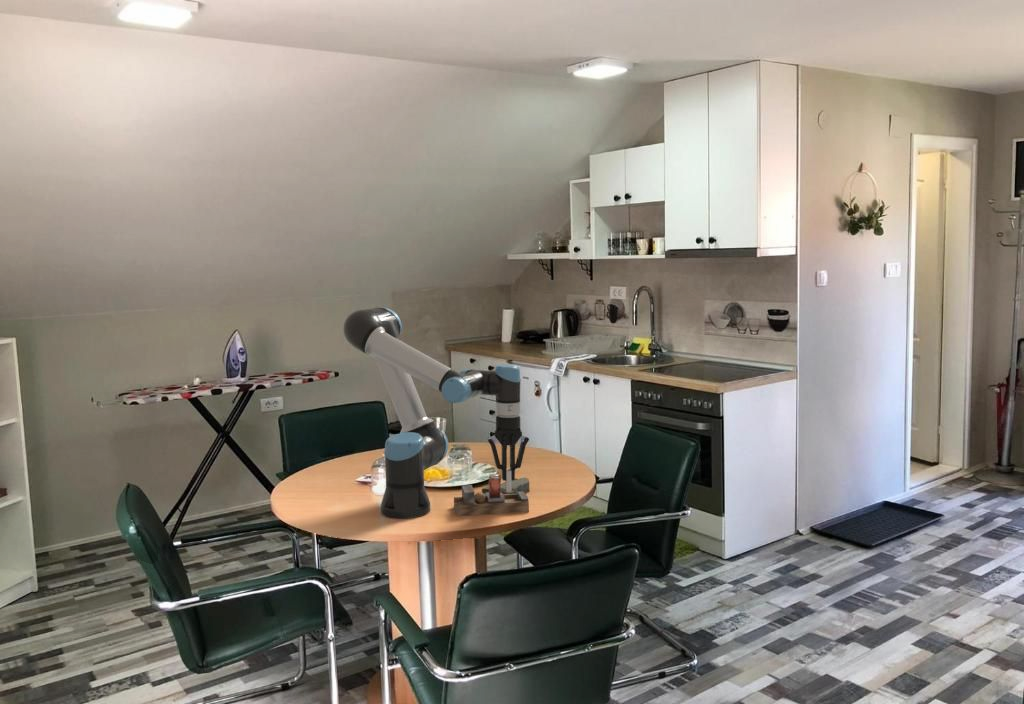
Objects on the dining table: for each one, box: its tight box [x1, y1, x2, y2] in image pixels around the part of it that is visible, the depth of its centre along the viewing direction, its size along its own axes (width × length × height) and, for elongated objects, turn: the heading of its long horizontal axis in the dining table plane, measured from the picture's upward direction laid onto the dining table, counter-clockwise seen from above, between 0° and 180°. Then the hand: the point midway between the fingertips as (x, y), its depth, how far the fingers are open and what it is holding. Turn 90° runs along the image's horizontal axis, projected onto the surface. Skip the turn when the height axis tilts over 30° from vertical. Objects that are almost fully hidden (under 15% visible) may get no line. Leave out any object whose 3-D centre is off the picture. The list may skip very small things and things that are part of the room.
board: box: [453, 484, 530, 517], centre depth 259 cm, size 22×10×7 cm, turn 99°
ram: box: [484, 473, 505, 503], centre depth 259 cm, size 5×7×8 cm
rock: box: [481, 477, 530, 495], centre depth 276 cm, size 12×16×5 cm
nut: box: [475, 491, 485, 504], centre depth 258 cm, size 4×4×4 cm
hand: (508, 490), depth 260 cm, fingers closed
